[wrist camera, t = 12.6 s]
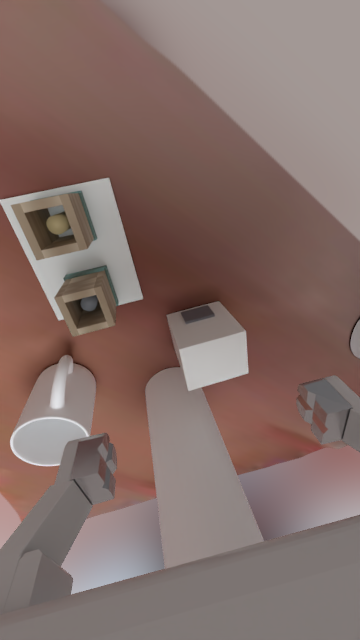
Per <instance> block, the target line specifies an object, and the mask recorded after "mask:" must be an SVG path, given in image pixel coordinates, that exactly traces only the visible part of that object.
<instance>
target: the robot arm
mask: <svg viewBox="0 0 360 640" xmlns="http://www.w3.org/2000/svg"><path fill="white" fill-rule="evenodd" d="M350 345H351V350H352V352H353V354H354V355H355V356H356V357H357V358H359V359H360V320H359V321H358V323H357V324H356V326H355V328H354V330H353V333H352V336H351V343H350ZM297 391H298V392H299V393H300V395H299V396H298V397H297V402H296V404H297V408H298V411H299V413H300V415H301V416H302V418H303V419H304V420H305V421H306V422H308V423H310V424H311V431H312V432H313V433H314V435H315V436H316V438H317V439H318V440H319V442H320V443H321V444H326V443H330V442H334V441H339V440H342V441H343V442H345V443H346V444H348V445H349V446H351V447H353V448H354V449H356V450H357V451H359V452H360V398H359V397H358V396H357V395H356V394H355V393H354V392H353V391H352V390H351V389H350V388H349V387H348V386H347V385H346V384H345V383H344V382H343V381H341V380H340V379H339V378H338V377H337V376H335V375H334V376H330V377H326V378H322V379H317V380H313V381H309V382H305V383H302V384H299V385H298V389H297ZM116 469H117V456H116V450H115V447H114V445H113V444H111V443H109V436H108V434H107V433H102V434H98V435H93V436H89V437H84V438H80V439H76V440H71V441H68V442H67V444H66V445H65V448H64V452H63V456H62V459H61V463H60V466H59V470H58V473H57V477H56V481H55V484H54V485H52V486H50V487H49V488H48V490H47V491H46V492H45V493H44V495H43V496H42V497H41V498H40V500H39V501H38V502H37V504H36V505H35V506H34V507H33V509H32V510H31V511H30V512H29V514H28V515H27V516H26V517H25V519H24V520H23V521H22V523H21V524H20V525H19V526H18V528H17V529H16V530H15V531H14V533H13V534H12V535H11V536H10V538H9V539H8V540H7V542H6V543H5V544H4V545H3V547H2V548H1V549H0V640H360V515H358V516H354V517H350V518H347V519H343V520H340V521H336V522H332V523H329V524H325V525H321V526H318V527H314V528H311V529H307V530H303V531H300V532H296V533H292V534H289V535H285V536H282V537H278V538H274V539H271V540H267V541H264V542H260V543H256V544H253V545H249V546H245V547H242V548H238V549H235V550H231V551H227V552H224V553H220V554H216V555H213V556H209V557H206V558H202V559H198V560H195V561H191V562H188V563H184V564H180V565H177V566H173V567H169V568H166V569H162V570H159V571H155V572H152V573H148V574H144V575H141V576H137V577H134V578H130V579H126V580H123V581H119V582H115V583H112V584H108V585H105V586H101V587H98V588H94V589H90V590H86V591H83V592H79V593H75V594H72V595H71V590H72V583H73V578H72V577H71V575H70V574H69V573H67V572H66V571H65V570H64V569H63V568H61V565H62V563H63V561H64V559H65V558H66V555H67V554H68V552H69V550H70V548H71V546H72V544H73V542H74V541H75V539H76V537H77V535H78V533H79V531H80V529H81V527H82V525H83V523H84V522H85V520H86V518H87V516H88V514H89V512H90V510H91V509H92V505H94V504H97V503H101V502H104V501H108V500H111V499H114V495H115V483H116V480H115V478H114V476H113V473H114V472H115V470H116Z"/></svg>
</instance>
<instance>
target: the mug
mask: <svg viewBox="0 0 360 640" xmlns="http://www.w3.org/2000/svg"><path fill="white" fill-rule="evenodd" d="M95 394H96V381H95V378H94V376H93V374H92V373H91V372H90V371H89V370H88V369H86V368H85V367H83V366H81V365H78V364H74V363H73V359H72V357H71V356H70V355H64V356H62V358H61V359H60V360H59V363H58V364H55V365H52V366H50V367H48V368H47V369H45V370H44V371H43V372H42V373H41V374H40V376H39V377H38V379H37V381H36V383H35V385H34V387H33V389H32V392H31V394H30V396H29V398H28V400H27V403H26V405H25V407H24V409H23V411H22V414H21V416H20V418H19V420H18V423H17V425H16V427H15V429H14V431H13V434H12V436H11V439H10V446H11V449H12V451H13V453H14V454H15V455H16V456H17V457H18V458H20V459H21V460H23V461H25V462H27V463H30V464H34V465H39V466H56V465H60V463H61V459H62V456H63V452H64V448H65V445H66V444H67V442H68V441H71V440H76V439H80V438H84V437H89V436H90V433H91V425H92V417H93V410H94V402H95Z"/></svg>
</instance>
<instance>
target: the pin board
mask: <svg viewBox="0 0 360 640" xmlns="http://www.w3.org/2000/svg"><path fill="white" fill-rule="evenodd" d="M75 191H82V193H83V196H84V199H85V202H86V205H87V208H88V211H89V214H90V217H91V220H92V223H93V226H94V229H95V232H96V235H97V240H95V241H92V243H91V244H90V246H89V248H88V249H85V250H81V251H76V252H72V253H68V254H63V255H59V256H54V257H50V258H45V259H41V260H36V258H35V256H34V254H33V252H32V250H31V248H30V245H29V243H28V241H27V239H26V237H25V235H24V233H23V231H22V228H21V226H20V224H19V222H18V220H17V218H16V216H15V214H14V212H13V209H12V207H11V205H13V204H18V203H23V202H28V201H31V200H36V199H41V198H46V197H51V196H55V195H60V194H65V193H70V192H75ZM0 203H1V205H2V207H3V209H4V211H5V213H6V215H7V217H8V219H9V221H10V223H11V225H12V227H13V229H14V231H15V233H16V235H17V237H18V239H19V241H20V243H21V245H22V247H23V249H24V252H25V254H26V256H27V258H28V260H29V262H30V264H31V266H32V268H33V270H34V272H35V274H36V276H37V278H38V280H39V282H40V284H41V286H42V288H43V290H44V292H45V294H46V296H47V298H48V300H49V302H50V304H51V306H52V308H53V310H54V312H55V314H56V316H57V318H58V320H63V319H64V318H63V315H62V313H61V311H60V309H59V307H58V305H57V303H56V301H55V299H54V297H55V296H56V294H57V293H58V291H59V289H60V288H61V286H62V285H63V283H64V282H65V281H64V279H63V278H64V277H65V275H67V274H71V273H75V272H80V271H84V270H88V269H92V268H96V267H100V266H105V265H106V266H107V269H108V271H109V274H110V277H111V280H112V283H113V286H114V289H115V292H116V295H117V298H118V301H119V304H118V305H122V304H126V303H129V302H133V301H137V300H141V299H143V295H142V292H141V288H140V285H139V281H138V278H137V274H136V271H135V267H134V264H133V260H132V256H131V253H130V249H129V246H128V242H127V239H126V235H125V232H124V228H123V225H122V221H121V218H120V214H119V211H118V207H117V203H116V200H115V196H114V193H113V189H112V186H111V182H110V179H109V178H104V179H99V180H95V181H90V182H85V183H80V184H75V185H70V186H65V187H61V188H56V189H51V190H46V191H41V192H36V193H31V194H27V195H22V196H17V197H12V198H7V199H2V200H0ZM48 211H49V213H50V217H49V218H48V219H47V222H46V224H47V228H48V229H49V231H50V232H52V233H53V234H57V235H59V237H64V236H68V235H73V232H72V229H71V226H70V224H69V221H68V218H67V216H66V213H65V210H64V208H63V205H60V206H55V207H50V208H48ZM97 302H98V298H97V296H96V295H94V296H90V297H86V298H82V300H81V307H82V308H83V309H84V310H86V311H93V310H94V309H95V308H96V306H97Z"/></svg>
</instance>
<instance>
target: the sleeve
mask: <svg viewBox="0 0 360 640" xmlns="http://www.w3.org/2000/svg"><path fill="white" fill-rule="evenodd" d="M60 205H63V208H64V210H65V213H66V216H67V218H68V221H69V224H70V226H71V229H72V232H73V235H68V236H64V237H59V235H57V234H53V233H52V232H50V231H49V229H48V228H47V224H46V222H47V219H48V218H49V217H50V213H49V211H48V208H50V207H55V206H60ZM11 207H12V209H13V212H14V214H15V216H16V218H17V220H18V222H19V224H20V226H21V228H22V231H23V233H24V235H25V237H26V239H27V241H28V243H29V245H30V248H31V250H32V252H33V254H34V256H35V258H36V260H41V259H45V258H50V257H54V256H59V255H63V254H68V253H72V252H76V251H81V250H85V249H88V248H89V246H90V244H91V243H92V241H95V240H97V235H96V232H95V229H94V226H93V223H92V220H91V217H90V214H89V211H88V208H87V205H86V202H85V199H84V196H83V193H82V191H75V192H70V193H65V194H60V195H55V196H51V197H46V198H41V199H36V200H31V201H28V202H23V203H18V204H13V205H11Z"/></svg>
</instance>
